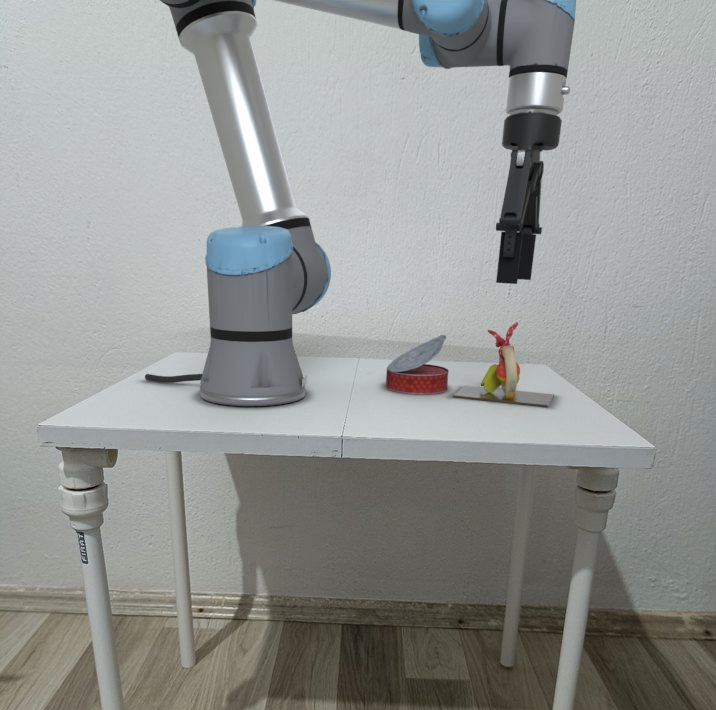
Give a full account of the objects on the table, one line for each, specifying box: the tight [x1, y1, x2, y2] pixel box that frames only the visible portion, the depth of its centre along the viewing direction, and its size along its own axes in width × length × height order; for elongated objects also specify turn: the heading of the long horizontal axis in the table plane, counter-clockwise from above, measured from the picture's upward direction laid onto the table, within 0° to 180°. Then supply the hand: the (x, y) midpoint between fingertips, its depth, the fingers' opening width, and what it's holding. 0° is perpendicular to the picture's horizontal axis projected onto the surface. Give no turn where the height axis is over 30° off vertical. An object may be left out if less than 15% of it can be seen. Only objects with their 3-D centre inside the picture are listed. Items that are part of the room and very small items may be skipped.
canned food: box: [385, 334, 450, 395], centre depth 105 cm, size 11×10×10 cm
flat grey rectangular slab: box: [452, 385, 555, 408], centre depth 101 cm, size 14×8×1 cm, turn 68°
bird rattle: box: [480, 321, 521, 399], centre depth 99 cm, size 6×11×9 cm
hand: (514, 281), depth 96 cm, fingers open, 13 cm apart
